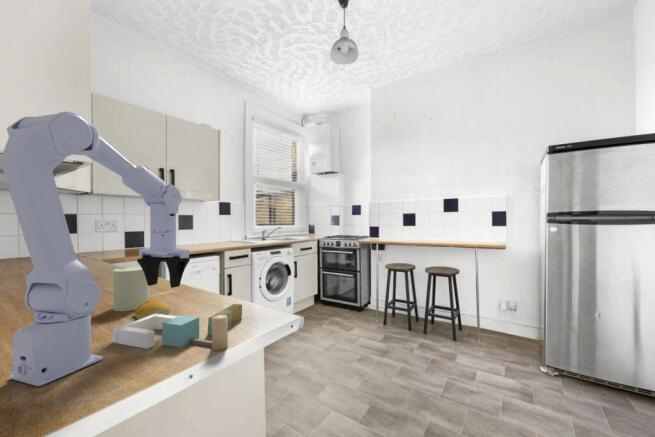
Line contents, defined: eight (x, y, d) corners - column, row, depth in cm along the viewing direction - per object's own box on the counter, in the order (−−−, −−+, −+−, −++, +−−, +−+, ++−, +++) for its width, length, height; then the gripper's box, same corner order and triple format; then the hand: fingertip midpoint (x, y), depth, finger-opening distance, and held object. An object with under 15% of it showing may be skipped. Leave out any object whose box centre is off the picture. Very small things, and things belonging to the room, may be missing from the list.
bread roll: (137, 323, 73) (137, 307, 73) (132, 314, 80) (132, 300, 80) (173, 315, 78) (173, 301, 79) (166, 308, 85) (165, 295, 85)
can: (130, 302, 92) (130, 264, 92) (156, 302, 91) (156, 264, 91) (104, 311, 83) (104, 269, 83) (133, 312, 82) (133, 269, 82)
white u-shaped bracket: (147, 348, 57) (147, 333, 58) (113, 342, 61) (112, 328, 61) (187, 330, 67) (187, 317, 67) (155, 325, 70) (155, 313, 70)
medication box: (217, 336, 64) (218, 318, 64) (206, 335, 64) (207, 317, 64) (242, 318, 76) (242, 303, 76) (232, 318, 76) (233, 302, 76)
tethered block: (217, 353, 55) (217, 322, 55) (162, 344, 60) (161, 315, 60) (233, 343, 60) (233, 314, 60) (181, 335, 64) (181, 308, 64)
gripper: (198, 231, 74) (198, 284, 74) (156, 231, 78) (156, 280, 78) (175, 232, 67) (175, 290, 67) (131, 232, 72) (131, 286, 72)
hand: (163, 285), depth 72 cm, fingers open, 7 cm apart
